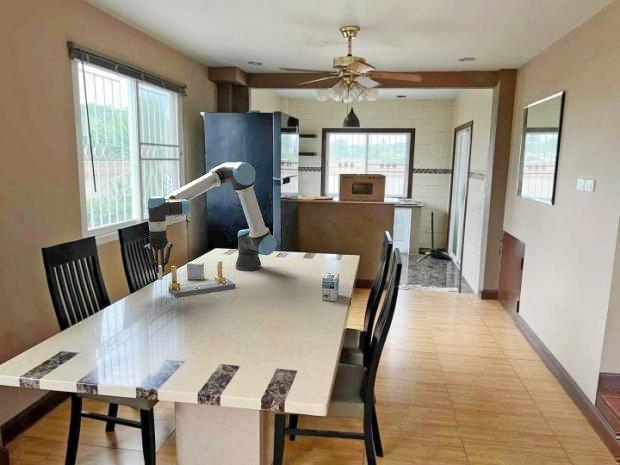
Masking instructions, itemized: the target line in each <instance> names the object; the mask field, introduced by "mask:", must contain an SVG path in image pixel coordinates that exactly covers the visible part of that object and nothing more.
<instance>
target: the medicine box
mask: <svg viewBox="0 0 620 465" xmlns="http://www.w3.org/2000/svg"><path fill="white" fill-rule="evenodd" d="M186 272H187V280H194V279H201V280H203V279H204V278H205V263H204V262H203V261H201V262H200V261H199V262H198V261H189V262H188V263H186ZM201 280H200V281H201Z"/></svg>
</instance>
